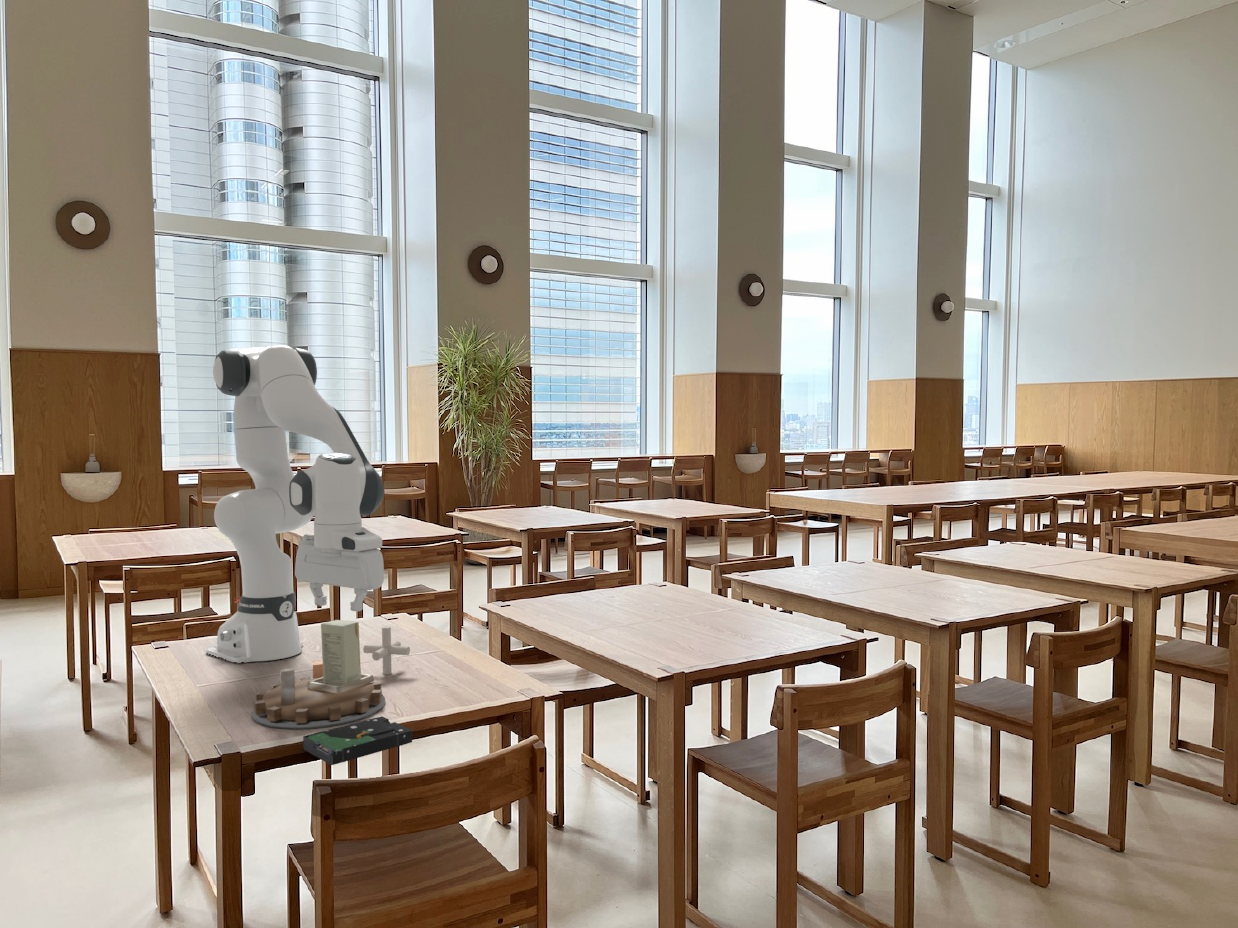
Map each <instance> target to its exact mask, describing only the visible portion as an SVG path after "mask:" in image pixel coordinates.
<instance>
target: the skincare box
mask: <svg viewBox="0 0 1238 928" xmlns="http://www.w3.org/2000/svg"><path fill="white" fill-rule="evenodd" d="M320 630H321V631H320V632H321V655H322V657H321V658H322V661H323V682H324V684H328V685H334V686H341V685H344V684H347V683H350V682H353V681H355V680H358V679H361V673H362V671H361V669H362V668H361V649H360V648H361V647H360V625H359V622H358V621H351V620H350V621H349V620H341V619H335V620H331V621H325V622H323V623H320Z"/></svg>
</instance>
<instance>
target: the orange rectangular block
mask: <svg viewBox="0 0 1238 928" xmlns="http://www.w3.org/2000/svg"><path fill="white" fill-rule="evenodd" d="M321 677H323V660H314V661H312V679H316V678H321Z"/></svg>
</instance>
